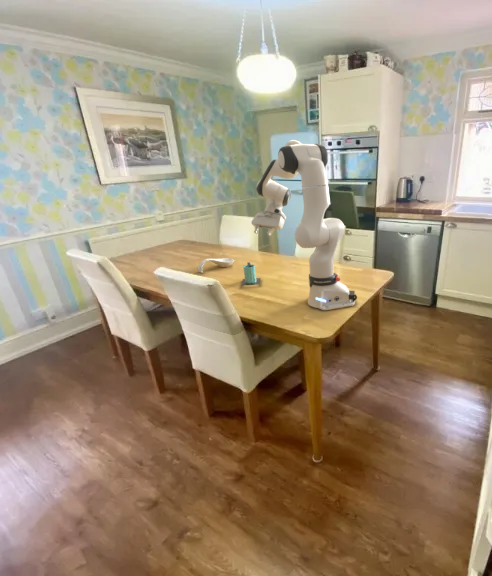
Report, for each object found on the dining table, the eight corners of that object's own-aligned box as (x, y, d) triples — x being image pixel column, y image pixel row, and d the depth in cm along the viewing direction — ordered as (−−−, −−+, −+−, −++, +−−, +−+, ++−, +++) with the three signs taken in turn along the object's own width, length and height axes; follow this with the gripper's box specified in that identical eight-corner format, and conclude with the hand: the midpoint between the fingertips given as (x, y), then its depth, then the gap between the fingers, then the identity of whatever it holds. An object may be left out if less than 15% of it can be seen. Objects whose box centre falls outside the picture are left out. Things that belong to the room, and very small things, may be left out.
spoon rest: (228, 261, 215) (227, 251, 212) (238, 265, 207) (237, 254, 205) (195, 271, 199) (193, 260, 197) (204, 275, 192) (202, 263, 189)
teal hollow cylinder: (256, 279, 179) (255, 264, 175) (256, 283, 173) (254, 267, 170) (246, 280, 178) (244, 264, 175) (245, 283, 173) (243, 268, 169)
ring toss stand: (261, 280, 181) (258, 259, 176) (260, 286, 172) (257, 264, 167) (243, 281, 180) (240, 260, 176) (241, 288, 171) (238, 266, 166)
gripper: (255, 208, 182) (244, 228, 178) (283, 211, 172) (273, 232, 168) (261, 214, 187) (251, 234, 184) (288, 217, 177) (279, 239, 173)
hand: (261, 233), depth 176 cm, fingers open, 8 cm apart
